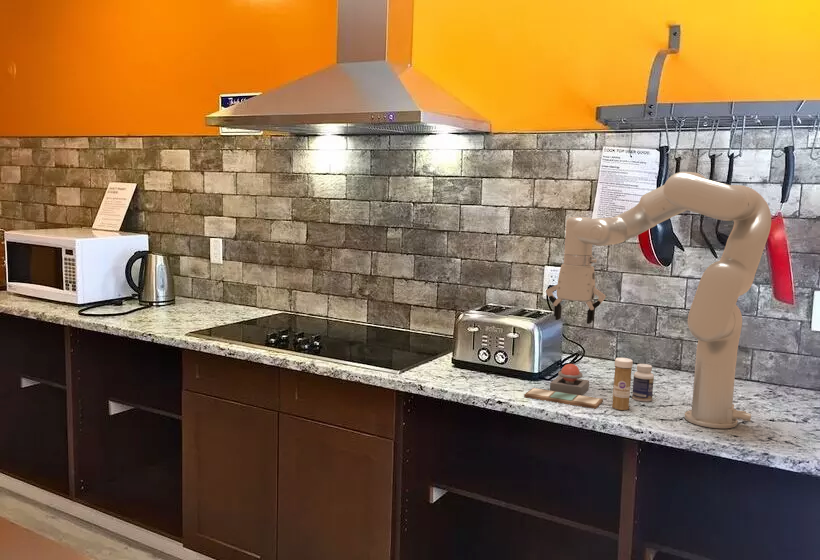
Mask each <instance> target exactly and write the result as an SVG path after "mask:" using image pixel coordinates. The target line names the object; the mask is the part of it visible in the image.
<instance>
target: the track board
mask: <svg viewBox="0 0 820 560" xmlns="http://www.w3.org/2000/svg"><path fill="white" fill-rule="evenodd" d="M523 396H524V397H523V398H527V399H531V400H538V399H540V400H539V401H544V400H546V401H545V402H550V401H552V402H551V403H556V402H558V403H557V404H562V403H564V405H569V404H570V406H575V405H576V407H581V406H582V407H583V408H587V409H593V408H594V410H597V409H598V408H599V407H600V405H601V404H602V403H603V402H604V399H603V398H601V397H594V396H588V395H576V394H570V393H563V392H557V391H550V389H542V388H537V387H532V388H530V390H528V391H527V392H526V393H524V394H523ZM596 408H597V409H596Z"/></svg>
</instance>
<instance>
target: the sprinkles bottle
mask: <svg viewBox="0 0 820 560" xmlns="http://www.w3.org/2000/svg"><path fill="white" fill-rule="evenodd" d="M633 362H634V361H633V359H631V358H627V357H616V358H615V359H614V368H615V369H614V375H613V376H614V377H613V389H612V391H613V392H612V404H611V408H613V409H615V410H619V411H627V410H629V409H630V396H631V384H632V369H633V365H634V363H633Z"/></svg>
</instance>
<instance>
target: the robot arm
mask: <svg viewBox="0 0 820 560" xmlns="http://www.w3.org/2000/svg"><path fill="white" fill-rule="evenodd" d="M686 211H688V212H689V211H690V212H692V213H695V214H699V215H702V216H706V217H709V218H712V219H715V220H719V221H724V222H725V221H727V222H730V221H733V226H732V227H733V228H732V230H731V231H730V233H729V236H728V238H727V240H726V243H725V247H724V248H723V249H724V250H723V253H722V255H721V257H720V259H719V260H718V261H715V262H713V263H711V264H710V265H709V266H708V267H707V268H706V269H705V270H704V272H703V273H702V275H701V278H700V280H699V282H698V286H697V289H696V291H695V295H694V297H693V300H692V302H691V305H690V309H689V311H688V314H687V315H688V316H687V326H688V329H689V332H690V333H691V335H692V336H693V337H694V338H696V339H697V345H696V346H697V347H696V353H695V363H694V365H695V366H694V378H693V390H692V399H691V400H692V402H691V409H690V410H687V411H685V413H684V419H685V420H686V421H687V422H689V423H690V424H691V423H692V424H693V425H696V426H701V427H705V428H710V429H711V428H712V429H732V428H734V427H736V426H738V421H739V420H740V421H741V420H742V421H744V422H745V421H746V422H751V418H752V414H751V413H749V412H747V411H744V410H737V409H736V408H735V404H734V403H733V401H734V388H735V379H736V368H737V360H738V359H737V358H738V347H739V343H740V337H741V332H742V327H743V316H742V312H741V309H740V307H738V305H737V302H738V299H739V297H740V296H742V295H744V294H746V293H747V292H749V290H750V289H751V287H752V285H753V283H754V280H755V276H756V273H757V270H758V268H759V265H760V262H761V259H762V256H763V253H764V250H765V246H766V244H767V241H768V238H769V235H770V231H771V226H772V214H771V213H772V212H771V209H770V206H769V204H768V203H767V200H765V198H764V197H763V196H762V195H761V194H760V193H759V192H758V191H756V190H755V189H753V188H752V187H749V186H747V185H742V184H741V185H738V184H728V183H723V182H719V181H715V180H711V179H707V178H706V177H705V176H704V175H703V174H701V173H698V172H695V171H694V172H693V171H692V172H691V171H680V172H676V173H674V174H671V176H669V177H668V178H667V180H666V181H665V183H664V184H663V185H661V186H659V187H657V188H655V189H653V190H651V191H648V192H647V193H644V194H643V195H642V196H641V197H640V199H639V202H638V203H637V204H636V205H635V206H634V207H632V208H630V209H628V210H626V211H624V212H622V213H620V214H618V215H615V216H612V217H603V218H600V217H599V218H590V217H586V216H570V217H568V218H567V220H566V224H565V238H564V239H565V240H564V255H563V263H562V264H561V265H560V269H559V274H558V278H557V284H555V285H553V286H551V287H549V288H547V289H546V290H545V293H546V295H547V296H548V299H549V300H550V302H551V303H552V304H553V306H554V310H553V311H554V313H553V316H554V317H555V321H558V320H560V319H561V318H562V305H561V303H562V302H563V301H564V300H565V301H572V302H582V303H586V305H587V307H588V309H587V312H586V313H587V314H586V324H587V325H590V324H591V323H592V322H594V321H595V310H596V308H598V307H599V306H601V304H602V303H603V301H604V300H605V299H606V297H607V295H606V294H604V293H603V292H602V291H600V290H599V289H597V288H596V273H595V267H594V266H592V264H597V258H595V257H593V254H592V252H593V246H596V247H597V246H600V247H601V246H602V247H603V246H605V247H606V246H612V245H618V244H621V243H623V242H625V241H628V240H630V239H633V238H635V237H637V236H638V235H641V234H642V233H645V232H647V231H648V230H650V229H652V228H654V227H656V226H657V225H659V224H662V223H663V222H665V221H668V220H669V219H671V218H673V217H675V216H677V215H680V214H682V213H685V212H686ZM555 291H556V297H557V298H556V297H555V295H554V293H553V292H555ZM595 295H596V296H597V297H598V299H597V300H596V301H595V302H594V301H593V300H594V299H595Z"/></svg>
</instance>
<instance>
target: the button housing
mask: <svg viewBox="0 0 820 560" xmlns="http://www.w3.org/2000/svg"><path fill="white" fill-rule="evenodd" d="M589 389H590V380H589V379H581V378H578V379H577V380H576V381H574V384H567V383H566V380H564V379H563V377H561V376H559V375H558V376H557V377H555V378H554V379H553V380H552V381H551V382H549V390H550V391H557V392H563V393H570V394H576V395H582V396H584V394H585V393H587V392H588V390H589Z"/></svg>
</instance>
